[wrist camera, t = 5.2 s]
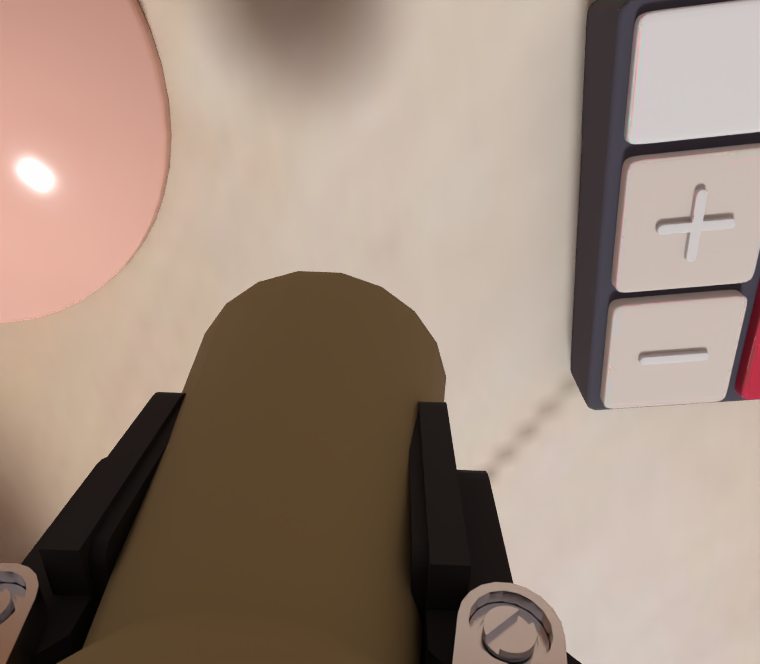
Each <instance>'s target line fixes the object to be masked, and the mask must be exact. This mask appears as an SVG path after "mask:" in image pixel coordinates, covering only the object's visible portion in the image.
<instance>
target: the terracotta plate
mask: <svg viewBox="0 0 760 664" xmlns="http://www.w3.org/2000/svg"><path fill="white" fill-rule="evenodd" d="M170 151H171V124H170V110H169V101H168V95H167V90H166V85H165V80H164V74H163V69H162V66H161V62H160V59H159V56H158V53H157V50H156V46H155V43H154V40H153V37H152V33H151V31H150V28H149V26H148V24H147V21H146V19H145V17H144V14H143V12H142V10H141V7H140V5H139V3H138V1H137V0H0V323H2V322H15V321H22V320H28V319H35V318H38V317H42V316H45V315H48V314H52V313H55V312H58V311H61V310H63V309H65V308H67V307H69V306H71V305H73V304H75V303H77V302H80V301H81V300H83V299H84V298H86V297H87V296H89V295H90V294H92V293H93V292H94V291H96V290H97V289H99V288H100V287H102V286H103V285H104V284H106V283H107V282H108V281H110V280H111V279H112V278H113V277H114V276H115V275H116V274H117V273H118V272H119V271H120V270H121V269H123V268H124V267H125V266H126V265H127V264H128V263H129V262H130V260H131V259H132V258H133V256H134V255H135V254H136V252H137V251H138V250H139V248H140V247H141V246H142V244H143V243H144V241H145V239H146V237H147V235H148V234H149V232H150V230H151V228H152V226H153V224H154V222H155V220H156V217H157V214H158V212H159V209H160V206H161V203H162V200H163V197H164V194H165V188H166V183H167V178H168V173H169V168H170Z"/></svg>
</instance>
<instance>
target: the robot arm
mask: <svg viewBox="0 0 760 664" xmlns="http://www.w3.org/2000/svg"><path fill="white" fill-rule="evenodd" d="M185 394H186V393H168V392H157V393H155V394H154V395H153V396H152V398H151V399H150V400H149V402H148V403H147V404H146V406H145V407H144V408H143V410H142V411H141V412H140V414H139V415H138V416H137V418H136V419H135V420H134V422H133V423H132V424H131V426H130V427H129V429H128V430H127V431H126V433H125V434H124V435H123V437H122V438H121V439H120V441H119V442H118V443H117V445H116V446H115V447H114V449H113V450H112V451H111V453H110V454H109V455H108V457H106V458H104V459H102V460H101V461H100V462H99V463H98V464H97V465H96V466H95V467H94V469H93V470H92V471H91V473H90V474H89V475H88V477H87V478H86V479H85V480H84V482H83V483H82V484H81V486H80V487H79V488H78V490H77V491H76V492H75V494H74V495H73V496H72V498H71V499H70V500H69V502H68V503H67V504H66V506H65V507H64V508H63V509H62V511H61V512H60V513H59V515H58V516H57V517H56V519H55V520H54V521H53V523H52V524H51V525H50V527H49V528H48V529H47V531H46V532H45V533H44V534H43V536H42V537H41V538H40V540H39V541H38V542H37V544H36V545H35V546H34V548H33V549H32V550H31V552H30V553H29V554H28V556H27V557H26V558H25V560H24V561H23V562H22V563H21V564H18V563H0V664H57V663H58V662H60V661H62V660H64V659H66V658H67V657H69V656H71V655H73V654H74V653H76V652H78V651H80V650H82V648H83V645H84V643H85V640H86V638H87V635H88V633H89V630H90V627H91V625H92V622H93V620H94V617H95V615H96V612H97V609H98V607H99V604H100V602H101V599H102V597H103V594H104V592H105V589H106V586H107V584H108V581H109V579H110V576H111V574H112V571H113V568H114V566H115V563H116V561H117V559H118V556H119V554H120V552H121V549H122V547H123V545H124V543H125V540H126V538H127V536H128V533H129V531H130V529H131V527H132V524H133V522H134V520H135V517H136V515H137V513H138V511H139V508H140V506H141V504H142V501H143V499H144V497H145V494H146V492H147V490H148V488H149V485H150V483H151V481H152V478H153V476H154V474H155V472H156V469H157V467H158V465H159V462H160V460H161V458H162V455H163V453H164V451H165V449H166V446H167V444H168V442H169V439H170V436H171V433H172V430H173V427H174V424H175V421H176V419H177V416H178V413H179V410H180V407H181V404H182V400H183V399H184V397H185ZM418 406H419V410H418V412H417V417H416V422H415V426H414V431H413V435H412V440H411V444H410V449H409V476H410V547H411V593H412V596H413V598H414V601H415V604H416V607H417V609H418V612H419V615H420V617H421V620H422V623H423V636H422V647H421V658H420V664H581V663H580V662H579V661H577V660H576V659H575V658H573V657H572V656H571V655H570V654H568V653H567V652H566V643H565V635H564V631H563V627H562V624H561V621H560V619H559V618H558V616H557V614H556V613H555V611H554V610H553V608H552V607H551V606H550V605H549V604H548V603H547V602H546V601H545V600H544V599H543V598H542V597H541V596H539V595H537V594H536V593H534V592H532V591H531V590H529V589H527V588H525V587H522V586H519V585H516V584H513V580H512V576H511V572H510V567H509V563H508V559H507V554H506V550H505V546H504V541H503V537H502V532H501V528H500V524H499V519H498V515H497V511H496V506H495V502H494V498H493V493H492V489H491V484H490V480H489V477H488V473H487V472H486V471H472V470H457V469H456V462H455V456H454V449H453V443H452V436H451V430H450V423H449V417H448V410H447V404H446V402H422V401H418Z"/></svg>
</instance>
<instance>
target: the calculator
mask: <svg viewBox="0 0 760 664" xmlns="http://www.w3.org/2000/svg"><path fill="white" fill-rule="evenodd" d="M582 139H583V154H582V170H581V186H580V202H579V218H578V234H577V250H576V268H575V288H574V308H573V329H572V351H571V373H572V375H573V377H574V379H575V381H576V384H577V386H578V388H579V390H580V392H581V394H582V396H583V398H584V400H585V402H586V404H587V406H588V407H589V408H591V409H594V410H604V409H620V408H635V407H650V406H665V405H680V404H695V403H710V402H725V401H740V400H755V399H760V0H597V1H595V2H594V3H593V4H592V5H591V7H590V8H589V10H588V15H587V25H586V46H585V68H584V90H583V111H582Z"/></svg>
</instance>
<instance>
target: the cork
mask: <svg viewBox="0 0 760 664" xmlns="http://www.w3.org/2000/svg"><path fill="white" fill-rule="evenodd" d="M445 383H446V375H445V371H444V368H443V364H442V360H441V357H440V353H439V349H438V346H437V343H436V341H435V340H434V338H433V337H432V335H431V334H430V333H429V331H428V330H427V328H426V327H425V325H424V324H423V323H422V321H421V320H420V318H419V317H418V316H417V314H416V313H415V311H413V310H412V309H411V308H409V307H408V306H407V305H405V304H404V303H403V302H401V301H400V300H399V299H397V298H396V297H394V296H393V295H392V294H390V293H389V292H388V291H386V290H385V289H384V288H382V287H380V286H377V285H374V284H372V283H369V282H366V281H363V280H360V279H357V278H354V277H352V276H349V275H346V274H343V273H331V272H305V271H297V272H294V273H290V274H286V275H283V276H279V277H275V278H272V279H268V280H264V281H261V282H258V283H256V284H255V285H253V286H252V287H250V288H249V289H247V290H246V291H245V292H243V293H242V294H240V295H239V296H237V297H236V298H234V299H233V300H231V301H230V302H228V303H227V304H226V305H225V306H224V308H223V309H222V310H221V312H220V313H219V315H218V316H217V317H216V319H215V320H214V322H213V323H212V324H211V326H210V327H209V329H208V330H207V331H206V333H205V335H204V338H203V340H202V343H201V345H200V348H199V350H198V353H197V355H196V358H195V361H194V363H193V366H192V368H191V371H190V373H189V376H188V379H187V381H186V384H185V386H184V389H183V391H182V393H186V394H185V397H184V399H183V400H182V404H181V407H180V410H179V413H178V416H177V419H176V421H175V424H174V427H173V430H172V433H171V436H170V439H169V442H168V444H167V446H166V449H165V451H164V453H163V455H162V458H161V460H160V462H159V465H158V467H157V469H156V472H155V474H154V476H153V478H152V481H151V483H150V485H149V488H148V490H147V492H146V494H145V497H144V499H143V501H142V504H141V506H140V508H139V511H138V513H137V515H136V517H135V520H134V522H133V524H132V527H131V529H130V531H129V533H128V536H127V538H126V540H125V543H124V545H123V547H122V549H121V552H120V554H119V556H118V559H117V561H116V563H115V566H114V568H113V571H112V574H111V576H110V579H109V581H108V584H107V586H106V589H105V592H104V594H103V597H102V599H101V602H100V604H99V607H98V609H97V612H96V615H95V617H94V620H93V622H92V625H91V627H90V630H89V633H88V635H87V638H86V640H85V643H84V645H83V648H82V650H80V651H78V652H76V653H74V654H73V655H71V656H69V657H67V658H66V659H64V660H62V661H60V662H58V663H57V664H420V658H421V647H422V636H423V623H422V620H421V617H420V615H419V612H418V609H417V607H416V604H415V601H414V598H413V596H412V593H411V547H410V476H409V449H410V444H411V440H412V435H413V431H414V426H415V422H416V417H417V412H418V410H419V406H418V401H422V402H444V394H445Z"/></svg>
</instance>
